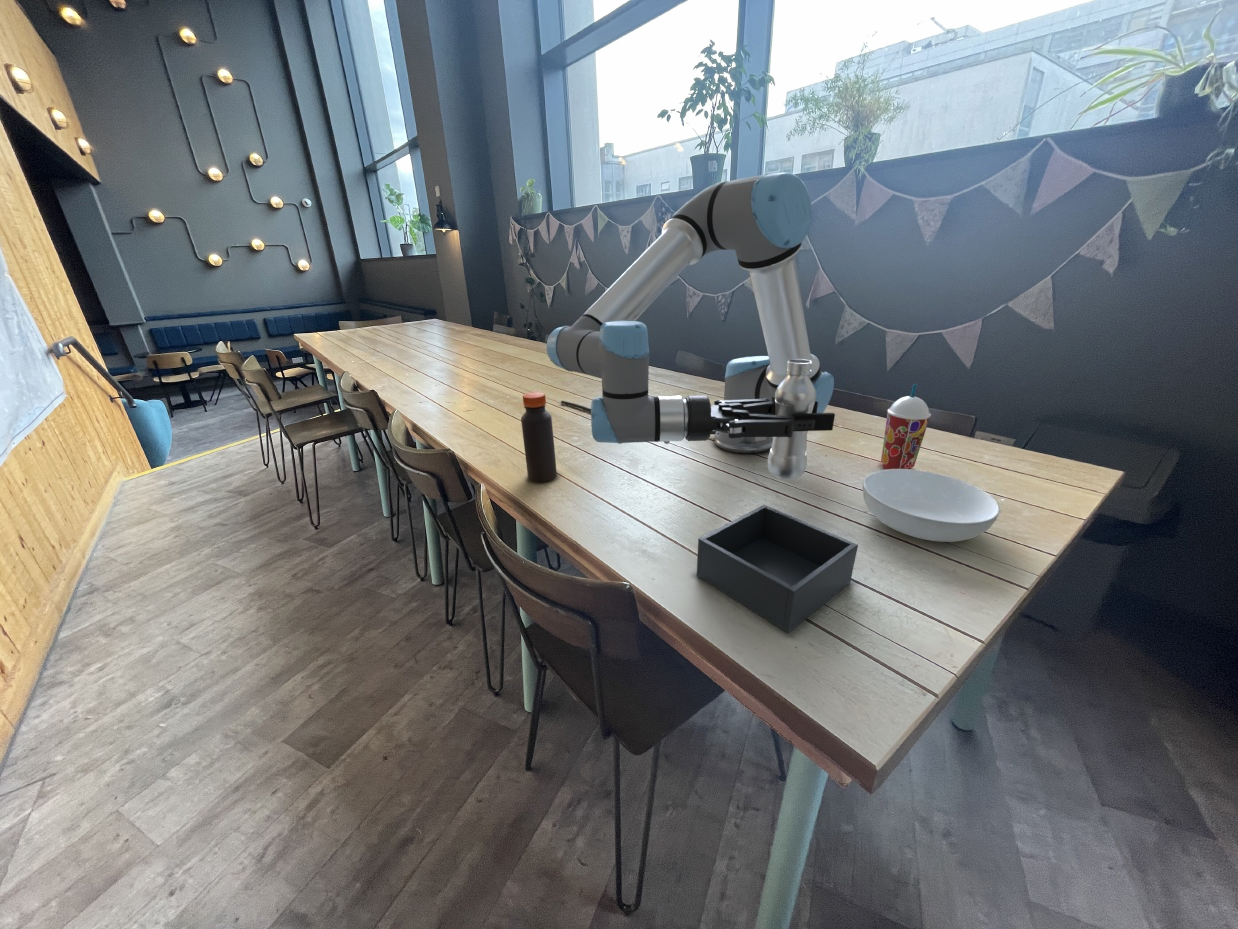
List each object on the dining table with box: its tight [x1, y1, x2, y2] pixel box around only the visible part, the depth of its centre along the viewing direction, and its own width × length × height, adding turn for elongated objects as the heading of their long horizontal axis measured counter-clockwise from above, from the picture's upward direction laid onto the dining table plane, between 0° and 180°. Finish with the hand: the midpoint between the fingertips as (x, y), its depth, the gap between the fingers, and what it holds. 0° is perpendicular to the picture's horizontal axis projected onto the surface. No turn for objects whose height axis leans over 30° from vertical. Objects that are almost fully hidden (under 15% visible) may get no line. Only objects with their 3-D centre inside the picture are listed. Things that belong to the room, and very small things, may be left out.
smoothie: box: [880, 383, 932, 470], centre depth 106 cm, size 8×8×20 cm
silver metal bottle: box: [767, 359, 816, 480], centre depth 78 cm, size 6×7×20 cm
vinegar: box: [520, 391, 558, 484], centre depth 107 cm, size 7×7×20 cm
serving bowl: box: [862, 468, 1001, 543], centre depth 85 cm, size 21×21×7 cm
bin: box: [696, 504, 859, 634], centre depth 72 cm, size 17×17×7 cm
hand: (823, 415), depth 78 cm, fingers closed on silver metal bottle, 6 cm apart
